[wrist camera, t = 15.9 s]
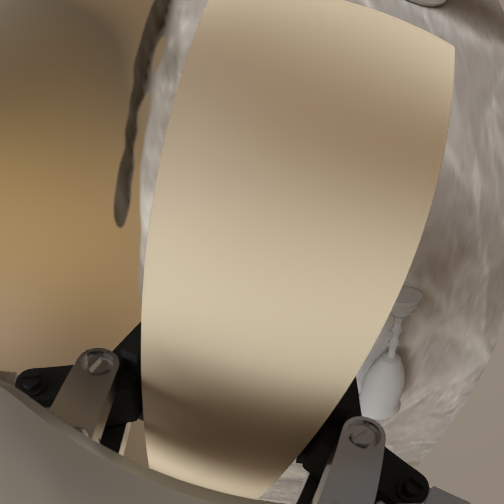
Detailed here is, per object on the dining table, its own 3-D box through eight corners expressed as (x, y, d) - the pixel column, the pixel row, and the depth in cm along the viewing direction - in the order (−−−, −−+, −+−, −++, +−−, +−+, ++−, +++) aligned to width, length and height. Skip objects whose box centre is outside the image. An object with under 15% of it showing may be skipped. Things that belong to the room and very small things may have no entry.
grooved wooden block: (261, 75, 9) (215, -15, 3) (377, 107, 8) (454, 46, 3) (187, 428, 15) (154, 497, 9) (251, 448, 15) (232, 521, 9)
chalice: (438, 306, 24) (402, 419, 28) (423, 283, 30) (398, 388, 34) (376, 306, 26) (353, 419, 30) (370, 283, 32) (355, 388, 37)
